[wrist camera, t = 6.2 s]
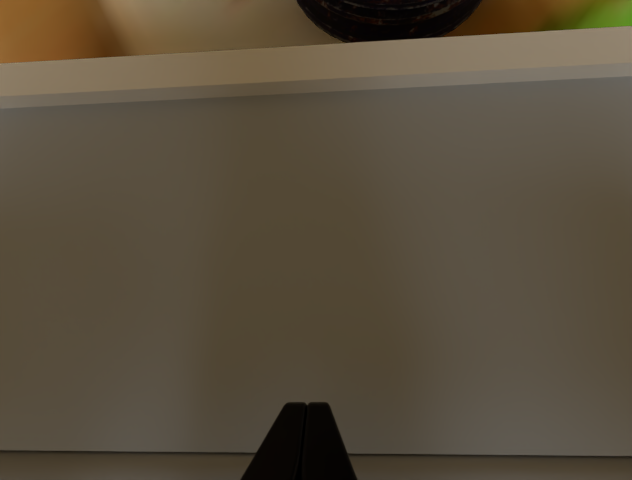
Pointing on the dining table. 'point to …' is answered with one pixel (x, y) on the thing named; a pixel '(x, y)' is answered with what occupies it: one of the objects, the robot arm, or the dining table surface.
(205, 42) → the dining table surface
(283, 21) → the dining table surface
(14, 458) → the duct cover
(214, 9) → the dining table surface
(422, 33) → the storage jar
